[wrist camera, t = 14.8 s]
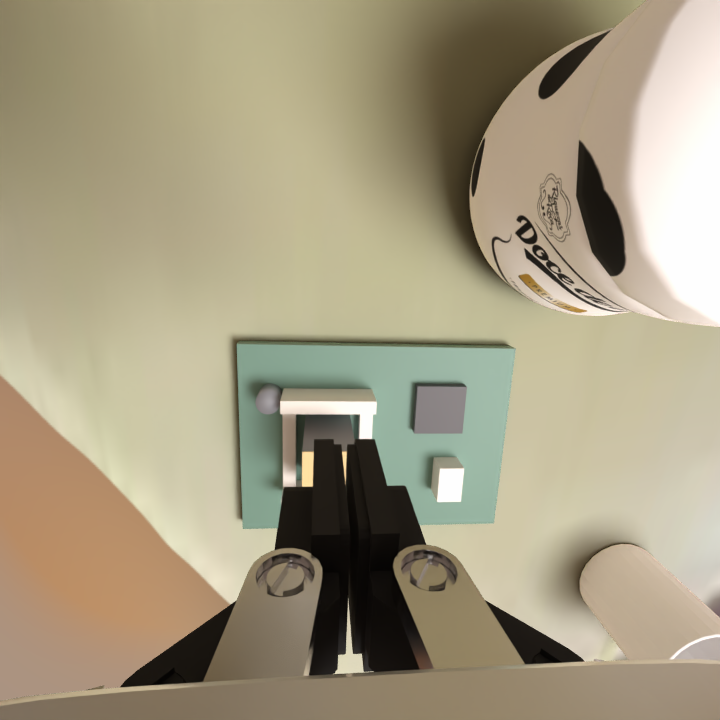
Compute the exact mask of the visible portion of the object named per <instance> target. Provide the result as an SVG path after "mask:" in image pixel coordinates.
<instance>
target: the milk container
mask: <svg viewBox="0 0 720 720" xmlns="http://www.w3.org/2000/svg"><path fill="white" fill-rule="evenodd" d="M470 213H471V220H472V224H473V229H474V232H475V236H476V239H477V241H478V244H479V246H480V249H481V251H482V252H483V254H484V256H485V258H486V260H487V261H488V263H489V264H490V266H491V267H492V268H493V270H494V271H495V272H496V273H497V274H498V275H499V276H500V277H501V279H503V280H504V281H505V282H506V283H507V284H508V285H509V286H510V287H512V288H513V289H514V290H516V291H517V292H518V293H520V294H521V295H523V296H525V297H526V298H528V299H530V300H532V301H534V302H536V303H538V304H540V305H542V306H544V307H547V308H550V309H553V310H557V311H561V312H565V313H569V314H576V315H589V316H602V315H613V314H621V313H627V312H635V313H639V314H643V315H647V316H651V317H655V318H660V319H664V320H670V321H676V322H683V323H688V324H696V325H706V326H716V327H720V0H647V1H646V2H644V3H643V4H642V5H641V6H639V7H638V8H637V9H636V10H634V11H633V12H632V13H631V14H630V15H628V16H627V17H626V18H625V19H624V20H623V21H621V22H620V23H619V24H618V25H617V26H615V27H614V28H610V29H607V30H604V31H600V32H597V33H595V34H592V35H589V36H587V37H585V38H582V39H580V40H577V41H575V42H574V43H572V44H570V45H568V46H566V47H564V48H563V49H561V50H560V51H558V52H556V53H555V54H553V55H552V56H550V57H549V58H547V59H546V60H545V61H543V62H542V63H541V64H540V65H538V66H537V67H536V68H535V69H534V70H533V71H532V72H530V73H529V74H528V75H527V76H526V77H525V78H524V79H523V80H522V81H521V82H520V83H519V84H518V85H517V86H516V87H515V89H514V90H513V91H512V92H511V93H510V95H509V96H508V97H507V98H506V100H505V101H504V102H503V104H502V105H501V107H500V108H499V110H498V111H497V113H496V114H495V116H494V117H493V119H492V121H491V123H490V124H489V126H488V128H487V130H486V132H485V134H484V136H483V138H482V141H481V143H480V145H479V148H478V151H477V154H476V157H475V161H474V164H473V169H472V174H471V182H470Z"/></svg>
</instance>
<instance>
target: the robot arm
mask: <svg viewBox="0 0 720 720" xmlns="http://www.w3.org/2000/svg"><path fill="white" fill-rule="evenodd" d="M348 598H349V611H350V624H351V636H352V649H353V654H361V653H362V659H363V669H364V672H367V673H349V674H333V673H335V671H336V670H337V666H338V655H341V654H345V653H346V632H347V609H348ZM368 671H374V672H368ZM0 720H720V661H716V660H703V659H640V660H616V661H603V660H597V659H594V661H589V662H585V661H584V660H583V659H582V658H581V657H579V656H578V655H577V654H575V653H574V652H572V651H571V650H570V649H568V648H566V647H565V646H563V645H561V644H560V643H558V642H556V641H554V640H553V639H551V638H549V637H548V636H546V635H544V634H542V633H541V632H539V631H537V630H535V629H534V628H532V627H530V626H529V625H527V624H525V623H523V622H522V621H520V620H518V619H517V618H515V617H513V616H511V615H510V614H508V613H506V612H504V611H503V610H501V609H499V608H498V607H496V606H494V605H492V604H491V603H489V602H487V601H486V600H484V598H483V597H482V595H481V594H480V592H479V591H478V589H477V587H476V586H475V584H474V583H473V581H472V579H471V578H470V576H469V575H468V573H467V572H466V570H465V568H464V567H463V565H462V564H461V563H460V561H459V560H458V559H457V558H456V557H455V556H454V555H452V554H451V553H449V552H448V551H446V550H444V549H441V548H439V547H436V546H431V545H426V543H425V540H424V537H423V534H422V531H421V528H420V525H419V522H418V519H417V517H416V514H415V511H414V508H413V505H412V502H411V499H410V496H409V493H408V490H407V488H406V486H404V485H396V486H387V483H386V479H385V475H384V472H383V468H382V464H381V460H380V457H379V453H378V449H377V445H376V442H375V439H355V441H354V444H347V458H346V485H345V475H344V465H343V455H342V445H341V444H334V439H314V459H313V487H284V489H283V495H282V502H281V509H280V516H279V523H278V530H277V537H276V544H275V550H274V551H271V552H269V553H267V554H265V555H263V556H261V557H260V558H259V559H258V560H257V561H255V562H254V564H253V565H252V567H251V568H250V570H249V572H248V574H247V577H246V579H245V581H244V584H243V586H242V589H241V591H240V593H239V596H238V598H237V601H235V602H234V603H233V604H231V605H230V606H228V607H227V608H225V609H224V610H223V611H221V612H220V613H218V614H217V615H215V616H214V617H213V618H211V619H210V620H208V621H207V622H206V623H204V624H203V625H201V626H200V627H199V628H197V629H196V630H194V631H193V632H191V633H190V634H188V635H187V636H186V637H184V638H183V639H181V640H180V641H179V642H177V643H176V644H174V645H173V646H171V647H170V648H169V649H167V650H166V651H164V652H163V653H162V654H160V655H159V656H157V657H156V658H154V659H153V660H152V661H150V662H149V663H147V664H146V665H145V666H143V667H142V668H140V669H139V670H137V671H136V672H135V673H134V674H133V675H132V676H130V677H129V678H128V679H127V680H126V681H125V682H124V683H123V684H122V685H121V687H120V688H104V686H100V687H96V688H92V689H88V690H84V691H74V692H65V693H54V694H44V695H34V696H24V697H20V698H13V699H8V700H2V701H0Z"/></svg>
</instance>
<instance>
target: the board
mask: <svg viewBox="0 0 720 720" xmlns="http://www.w3.org/2000/svg"><path fill="white" fill-rule="evenodd" d="M515 350H516V349H515V348H513V347H511V346H504V345H447V344H389V343H332V342H275V341H239V342H238V343H237V369H238V399H239V429H240V459H241V489H242V519H243V529H259V528H278V523H279V516H280V509H281V502H282V495H283V489H284V487H302V449H303V438H304V428H305V417H306V414H350V418H351V423H352V429H353V435H354V440H355V439H375V442H376V445H377V449H378V453H379V457H380V460H381V464H382V468H383V472H384V475H385V479H386V483H387V486H396V485H404V486H406V488H407V490H408V493H409V496H410V499H411V502H412V505H413V508H414V511H415V514H416V517H417V519H418V522H419V525H440V524H486V523H494V518H495V510H496V502H497V494H498V486H499V478H500V470H501V462H502V454H503V446H504V438H505V430H506V422H507V414H508V406H509V398H510V390H511V382H512V374H513V366H514V358H515Z"/></svg>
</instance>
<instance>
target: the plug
mask: <svg viewBox="0 0 720 720" xmlns="http://www.w3.org/2000/svg"><path fill="white" fill-rule="evenodd" d="M314 439H334V444H341V445H342V455H343V465H344V475H345V485H346V458H347V444H354V441H355V440H354V435H353V429H352V423H351V418H350V414H306V417H305V428H304V438H303V449H302V487H313V459H314Z"/></svg>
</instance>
